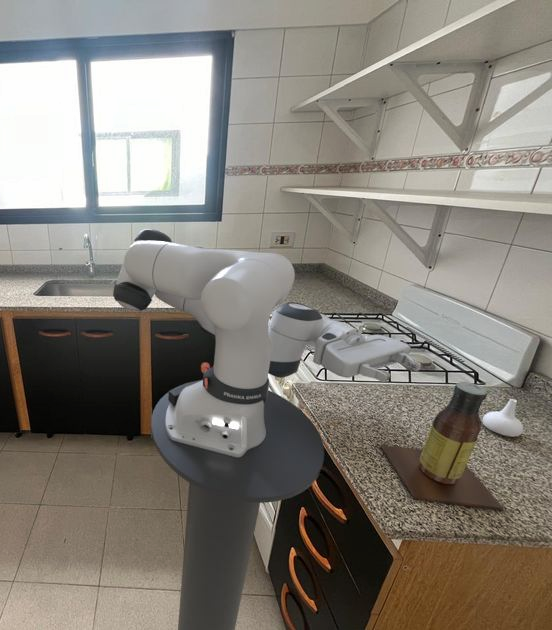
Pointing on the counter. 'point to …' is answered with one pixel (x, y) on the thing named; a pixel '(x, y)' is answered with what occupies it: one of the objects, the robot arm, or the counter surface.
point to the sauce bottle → (453, 435)
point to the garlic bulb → (504, 421)
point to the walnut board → (429, 489)
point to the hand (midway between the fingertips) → (403, 373)
